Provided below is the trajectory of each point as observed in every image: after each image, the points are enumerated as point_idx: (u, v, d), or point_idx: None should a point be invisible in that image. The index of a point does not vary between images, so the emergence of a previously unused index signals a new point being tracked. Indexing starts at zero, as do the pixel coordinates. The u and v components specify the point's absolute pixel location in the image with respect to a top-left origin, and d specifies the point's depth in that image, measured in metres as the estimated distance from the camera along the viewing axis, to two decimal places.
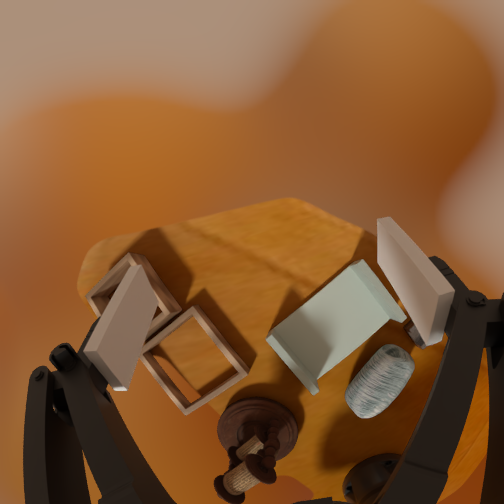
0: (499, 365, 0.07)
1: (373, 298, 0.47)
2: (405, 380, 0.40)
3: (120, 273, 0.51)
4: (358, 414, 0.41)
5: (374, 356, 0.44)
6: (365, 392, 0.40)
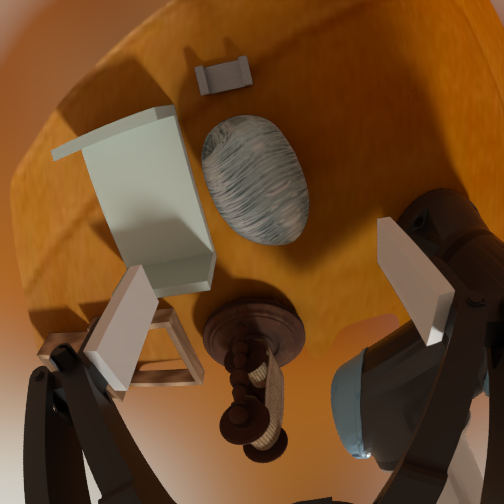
0: (499, 365, 0.07)
1: (132, 130, 0.28)
2: (269, 151, 0.24)
3: None
4: (283, 244, 0.29)
5: None
6: (243, 226, 0.27)
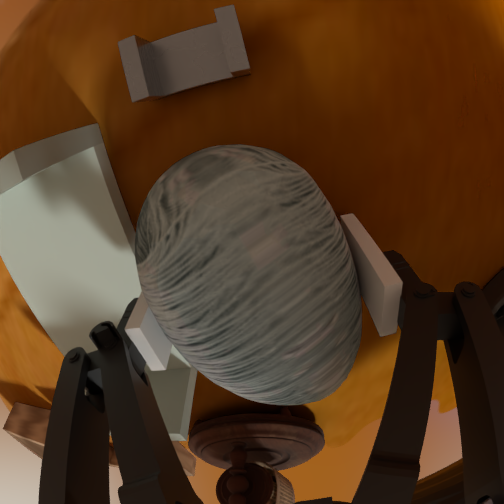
0: (459, 360, 0.08)
1: (34, 179, 0.14)
2: (293, 255, 0.09)
3: None
4: None
5: None
6: (233, 391, 0.12)
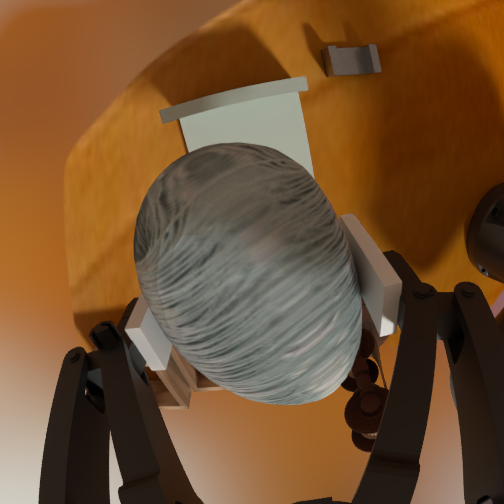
0: (459, 360, 0.08)
1: (249, 102, 0.26)
2: (293, 254, 0.09)
3: None
4: None
5: None
6: (232, 390, 0.12)
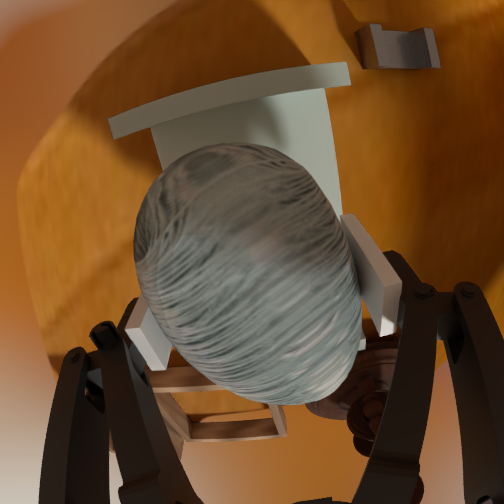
0: (459, 360, 0.08)
1: (251, 103, 0.18)
2: (293, 254, 0.09)
3: None
4: None
5: None
6: (232, 390, 0.12)
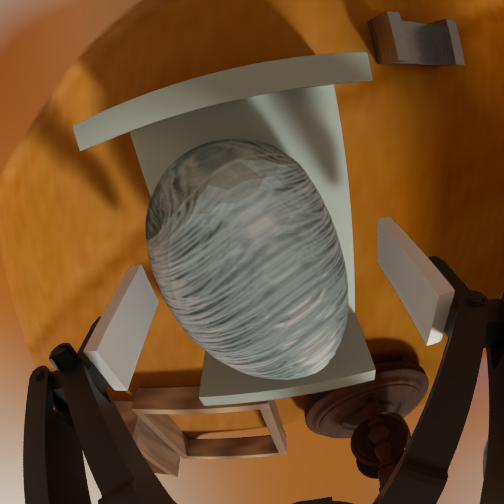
0: (498, 365, 0.07)
1: (248, 101, 0.15)
2: (285, 233, 0.11)
3: None
4: None
5: None
6: (229, 362, 0.14)
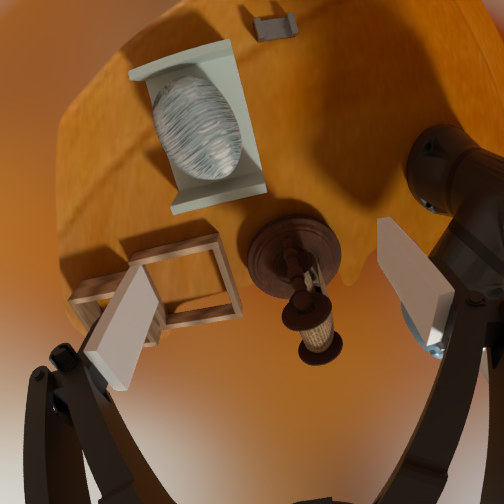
0: (498, 365, 0.07)
1: (196, 65, 0.32)
2: (201, 98, 0.28)
3: (88, 311, 0.49)
4: (218, 177, 0.33)
5: None
6: (182, 159, 0.31)
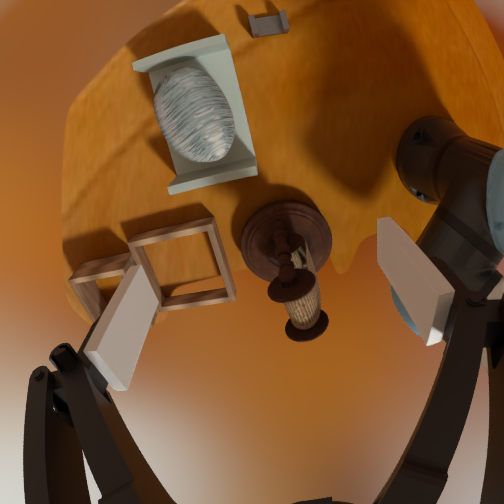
0: (499, 365, 0.07)
1: (195, 59, 0.34)
2: (197, 87, 0.30)
3: (87, 292, 0.51)
4: (212, 159, 0.35)
5: None
6: (179, 142, 0.33)
